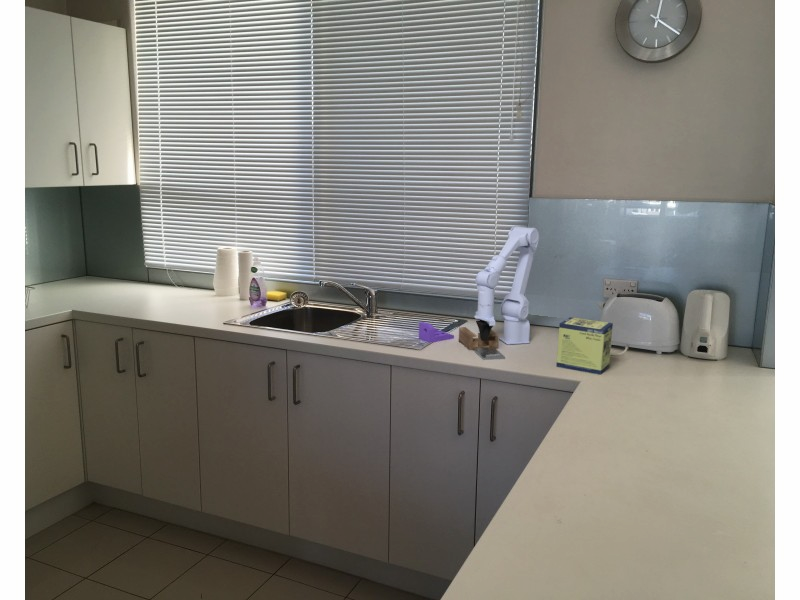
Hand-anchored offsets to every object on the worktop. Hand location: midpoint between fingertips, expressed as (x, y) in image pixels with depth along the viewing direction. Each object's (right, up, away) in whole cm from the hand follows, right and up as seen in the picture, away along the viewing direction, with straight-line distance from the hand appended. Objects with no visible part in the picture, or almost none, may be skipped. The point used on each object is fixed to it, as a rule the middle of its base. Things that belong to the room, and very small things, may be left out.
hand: (484, 340), depth 248 cm
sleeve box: (-2, -2, +7) cm, 7 cm away
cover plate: (+1, -5, -5) cm, 7 cm away
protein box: (+31, -8, -17) cm, 37 cm away
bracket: (-17, -1, +15) cm, 22 cm away
